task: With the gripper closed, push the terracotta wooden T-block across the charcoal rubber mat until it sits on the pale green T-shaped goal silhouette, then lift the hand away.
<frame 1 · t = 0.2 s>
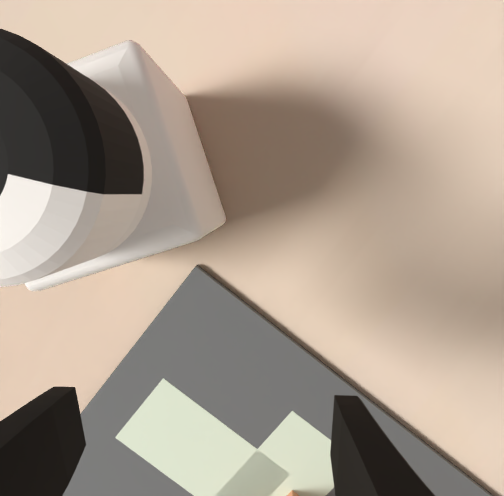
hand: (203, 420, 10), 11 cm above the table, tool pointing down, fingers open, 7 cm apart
medicine bottle: (148, 180, 20), on the table
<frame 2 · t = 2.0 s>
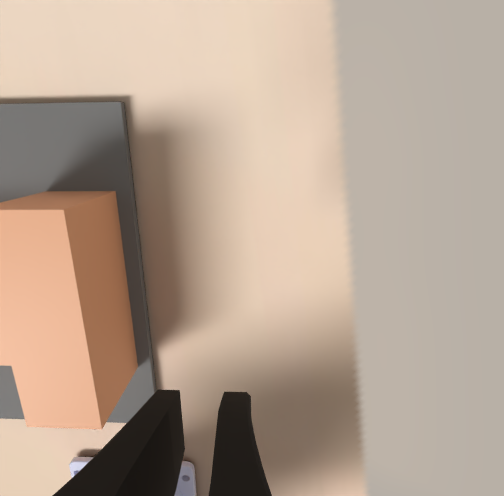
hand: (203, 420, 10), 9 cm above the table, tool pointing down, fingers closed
t block: (95, 285, 19), resting on mat
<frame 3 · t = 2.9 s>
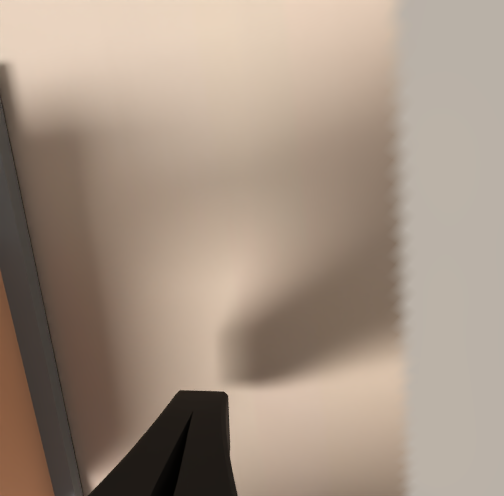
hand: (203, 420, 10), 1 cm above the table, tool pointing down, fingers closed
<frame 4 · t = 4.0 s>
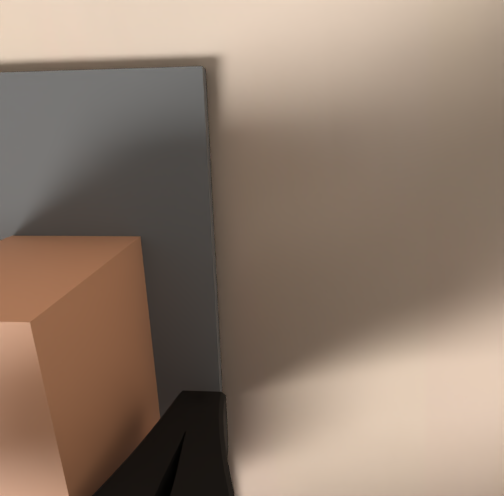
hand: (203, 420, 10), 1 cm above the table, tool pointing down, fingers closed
t block: (101, 392, 11), resting on mat, touching gripper
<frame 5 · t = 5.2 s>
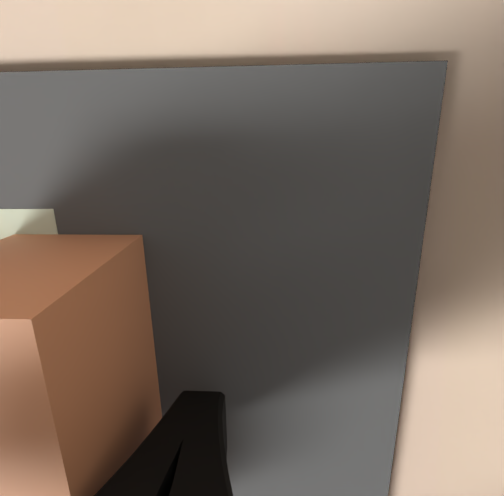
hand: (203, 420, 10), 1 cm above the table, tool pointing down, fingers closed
t block: (103, 391, 11), resting on mat, touching gripper
mat: (18, 381, 12), on the table
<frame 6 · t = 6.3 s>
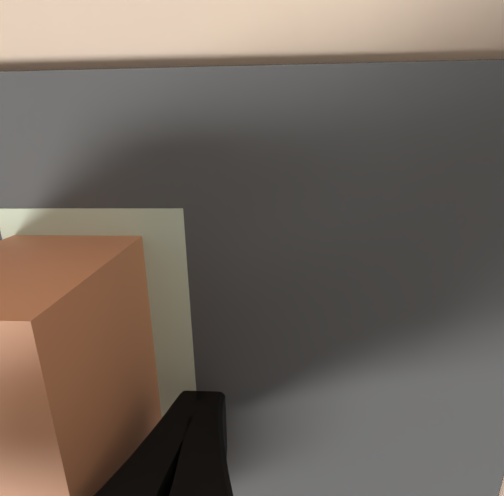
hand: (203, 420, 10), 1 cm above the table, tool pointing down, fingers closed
t block: (103, 391, 11), resting on mat, touching gripper
mat: (121, 383, 11), on the table
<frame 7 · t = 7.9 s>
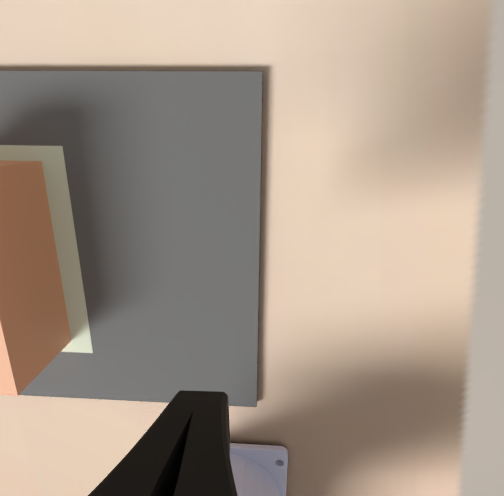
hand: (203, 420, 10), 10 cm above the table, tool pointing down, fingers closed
t block: (25, 257, 19), resting on mat
mat: (38, 255, 19), on the table
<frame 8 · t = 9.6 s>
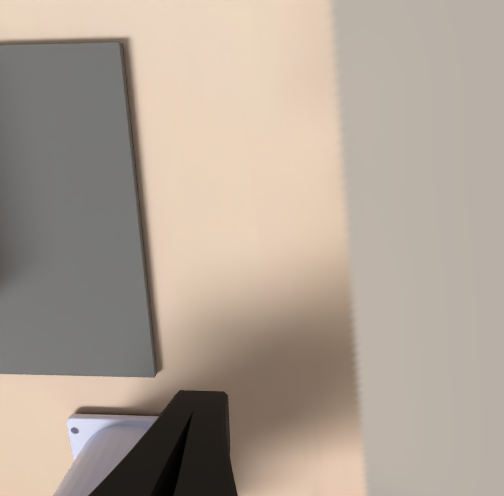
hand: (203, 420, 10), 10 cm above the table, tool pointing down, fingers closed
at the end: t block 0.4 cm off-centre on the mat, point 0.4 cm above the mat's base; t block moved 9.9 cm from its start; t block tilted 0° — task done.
